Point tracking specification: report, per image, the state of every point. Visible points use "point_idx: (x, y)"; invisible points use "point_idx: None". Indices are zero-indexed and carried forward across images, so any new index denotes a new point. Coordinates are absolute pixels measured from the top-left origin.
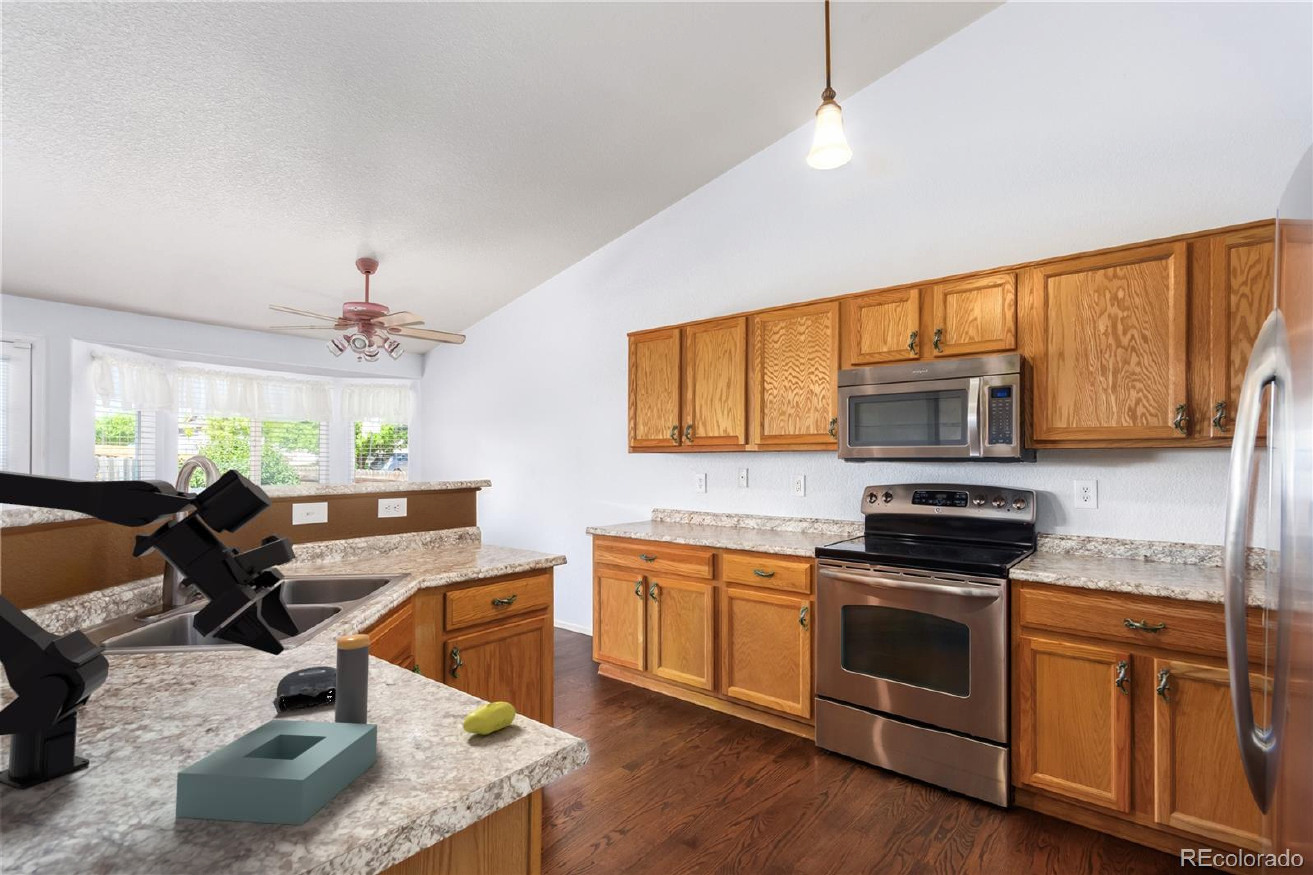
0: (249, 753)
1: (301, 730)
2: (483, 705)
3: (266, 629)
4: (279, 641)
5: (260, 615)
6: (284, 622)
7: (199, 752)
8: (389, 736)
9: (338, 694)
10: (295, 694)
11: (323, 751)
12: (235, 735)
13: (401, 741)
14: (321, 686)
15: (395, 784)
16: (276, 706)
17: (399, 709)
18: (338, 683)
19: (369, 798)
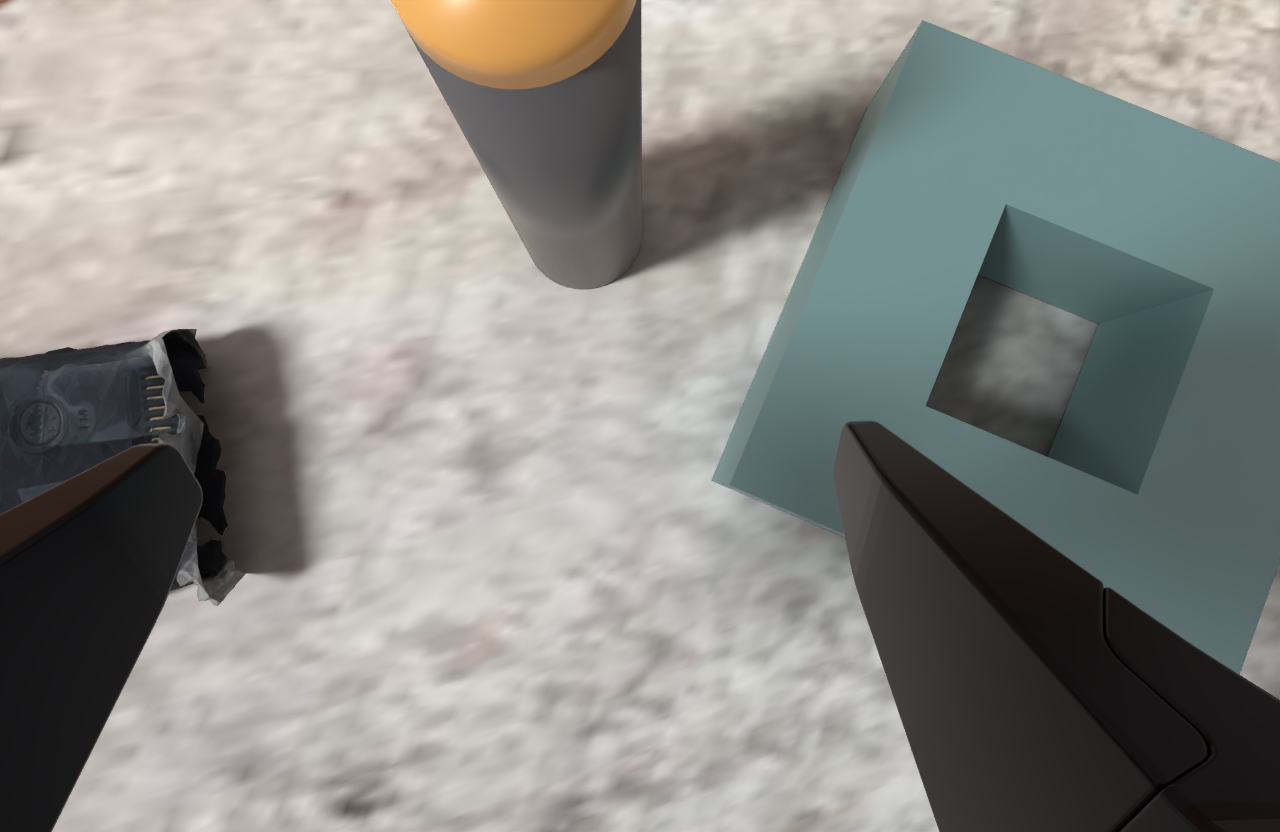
0: (1093, 478)
1: (906, 324)
2: None
3: (1128, 604)
4: (896, 461)
5: (1242, 817)
6: (67, 611)
7: (593, 760)
8: (650, 87)
9: (615, 205)
10: None
11: (1162, 188)
12: (455, 677)
13: (711, 40)
14: (101, 412)
15: (1055, 29)
16: (224, 585)
17: (367, 76)
18: (611, 182)
19: (1130, 96)
